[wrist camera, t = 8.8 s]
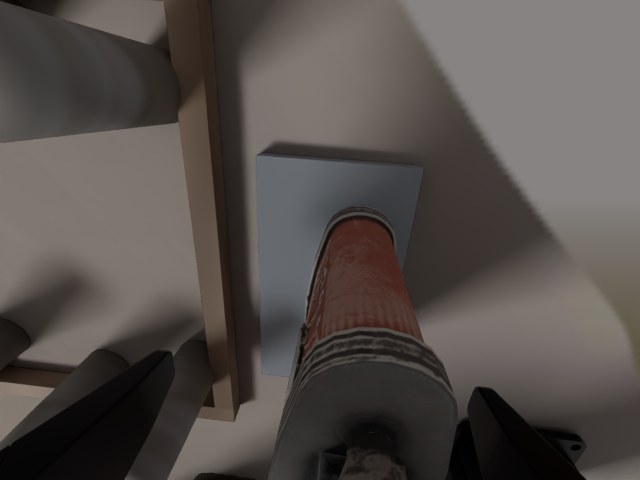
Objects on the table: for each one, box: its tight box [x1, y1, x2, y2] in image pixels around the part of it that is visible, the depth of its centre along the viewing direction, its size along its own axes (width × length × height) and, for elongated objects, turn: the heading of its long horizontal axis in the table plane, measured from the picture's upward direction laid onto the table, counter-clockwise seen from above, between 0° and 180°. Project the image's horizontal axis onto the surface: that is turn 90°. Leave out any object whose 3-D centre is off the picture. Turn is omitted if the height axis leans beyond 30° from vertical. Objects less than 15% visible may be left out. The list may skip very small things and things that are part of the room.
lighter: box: [268, 206, 458, 480], centre depth 8 cm, size 8×3×10 cm, turn 173°
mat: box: [256, 153, 424, 377], centre depth 13 cm, size 6×11×1 cm, turn 176°
